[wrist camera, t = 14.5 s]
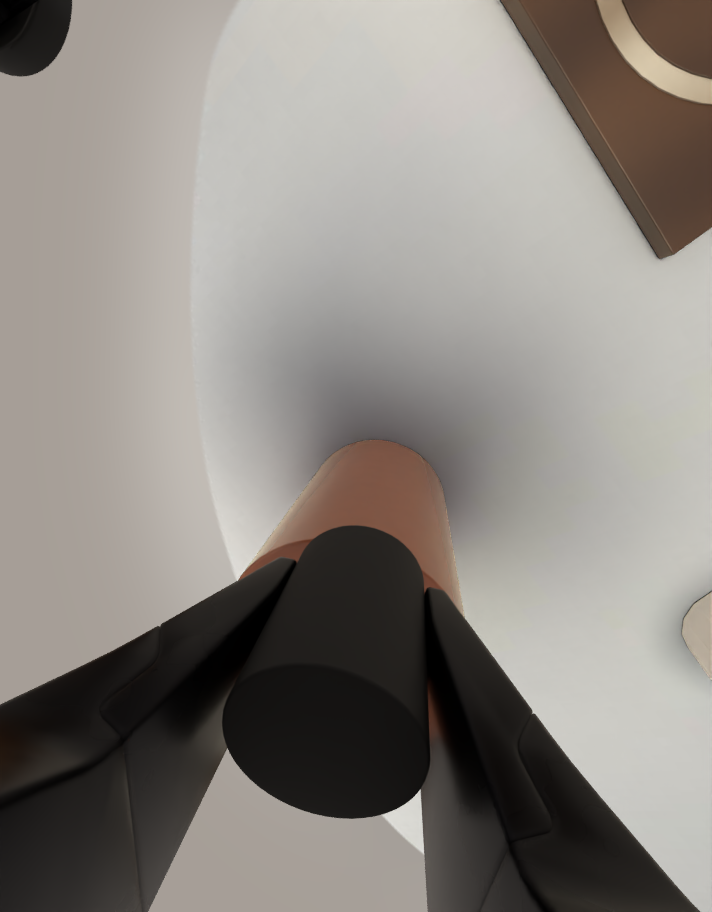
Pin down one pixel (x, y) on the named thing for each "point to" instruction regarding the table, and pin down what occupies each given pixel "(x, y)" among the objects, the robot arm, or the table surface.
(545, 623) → the table surface
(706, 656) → the off-white cylinder
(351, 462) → the pedestal
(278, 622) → the dot
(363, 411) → the table surface
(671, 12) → the board
